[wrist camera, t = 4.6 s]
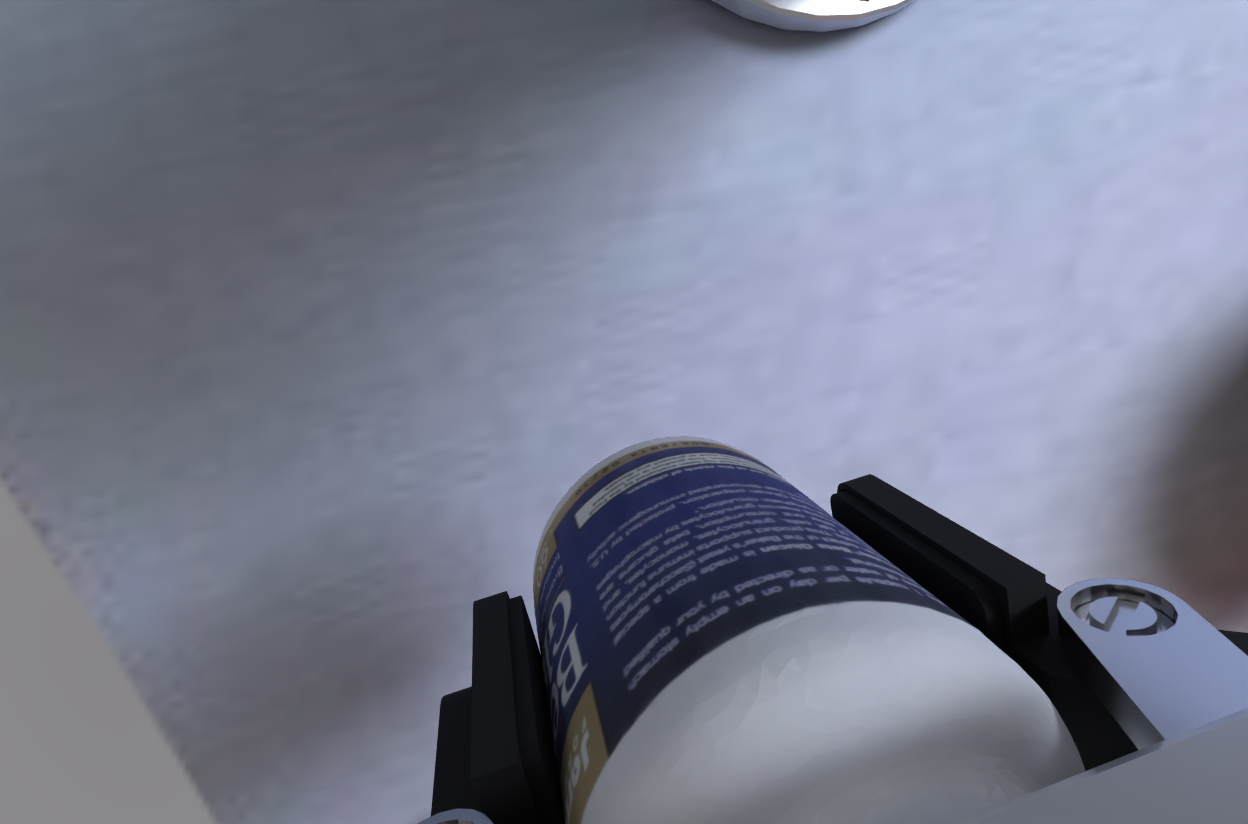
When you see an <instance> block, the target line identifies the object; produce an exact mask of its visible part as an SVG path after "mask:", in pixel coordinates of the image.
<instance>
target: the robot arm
mask: <svg viewBox="0 0 1248 824" xmlns="http://www.w3.org/2000/svg"><path fill="white" fill-rule="evenodd" d="M712 1H714V2H715V3H717V4H719V5H721V6H723V7H725V8H726V9H728V10H730V11H732V12H734V13H736V14H738V15H739V16H741V17H743V18H747V19H750V20H753V21H757V22H760V23H763V24H767V25H770V26H773V27H777V28H780V29H785V30H800V31H814V32H827V31H833V30H839V29H846V28H852V27H859V26H863V25H865V24H868V23H870V22H873V21H875V20H878V19H880V18H883V17H885V16H888V15H890V14H893V13H895V12H897V11H899V10H900V9H902V8H903V7H905V6H906V5H908V4H910V3H911V2H913V1H914V0H712ZM830 502H831V509H832V515H833V518H834V519H836V520H837V521H838V522H840V523H841V524H842V525H844V526H845V527H846V528H847V529H849V530H850V531H851V532H853V533H854V534H855V535H856V536H858V537H859V538H860V539H861V540H863V541H864V542H865V543H866V544H868V545H869V546H870V547H872V548H873V549H874V550H875V551H877V552H878V553H879V554H881V555H882V556H883V557H884V558H886V559H887V560H888V561H890V562H891V563H892V564H893V565H895V566H896V567H897V568H899V569H900V570H901V571H902V572H904V573H905V574H906V575H908V576H909V577H910V578H911V579H913V580H914V581H915V582H917V583H918V584H919V585H920V586H922V587H923V588H924V589H926V590H927V591H928V592H929V593H931V594H932V595H933V596H935V597H936V598H937V599H939V600H940V601H941V602H942V603H944V604H945V605H946V606H948V607H949V608H950V609H951V610H953V611H954V612H955V613H957V614H958V615H959V616H961V617H962V618H963V619H965V620H966V621H967V622H969V623H970V624H971V625H973V626H974V627H976V628H977V629H979V630H980V631H981V632H982V633H983V634H984V635H985V636H986V637H987V638H988V639H989V640H990V641H991V642H992V643H994V644H995V645H996V646H997V647H998V648H999V649H1000V650H1002V651H1003V652H1004V653H1005V654H1006V655H1008V656H1009V657H1010V658H1011V659H1012V660H1014V661H1015V662H1016V663H1017V664H1018V665H1019V666H1020V667H1021V668H1022V669H1023V670H1024V671H1025V672H1026V673H1027V674H1028V675H1029V676H1030V677H1031V678H1032V679H1033V680H1034V681H1035V682H1036V683H1037V684H1038V685H1039V687H1040V688H1041V689H1042V690H1043V691H1044V693H1045V694H1046V695H1047V696H1048V698H1049V699H1050V701H1051V702H1052V704H1053V705H1054V707H1055V708H1056V710H1057V711H1058V713H1059V715H1060V717H1061V718H1062V720H1063V722H1064V724H1065V725H1066V727H1067V729H1068V731H1069V732H1070V734H1071V736H1072V738H1073V741H1074V743H1075V745H1076V747H1077V749H1078V751H1079V754H1080V757H1081V760H1082V762H1083V765H1084V769H1085V772H1082V773H1080V774H1077V775H1075V776H1072V777H1070V778H1067V779H1065V780H1062V781H1060V782H1057V783H1055V784H1052V785H1050V786H1047V787H1045V788H1042V789H1040V790H1037V791H1035V792H1032V793H1030V794H1027V795H1025V796H1022V797H1020V798H1017V799H1015V800H1012V801H1010V802H1007V803H1005V804H1002V805H1000V806H998V807H995V808H993V809H990V810H988V811H985V812H983V813H980V814H978V815H975V816H973V817H970V818H968V819H965V820H963V821H960V822H958V823H955V824H1248V633H1242V632H1233V631H1224V630H1217V629H1216V628H1215V627H1213V626H1212V625H1211V624H1210V623H1209V622H1208V621H1206V620H1205V619H1204V618H1203V617H1202V616H1201V615H1199V614H1198V613H1197V612H1196V611H1195V610H1194V609H1192V608H1191V607H1190V606H1189V605H1188V604H1187V603H1186V602H1184V601H1183V600H1182V599H1180V598H1178V597H1177V596H1175V595H1174V594H1172V593H1171V592H1169V591H1167V590H1164V589H1162V588H1159V587H1157V586H1154V585H1152V584H1147V583H1143V582H1139V581H1134V580H1128V579H1117V578H1102V579H1090V580H1086V581H1082V582H1077V583H1075V584H1073V585H1071V586H1069V587H1067V588H1065V589H1064V590H1063V591H1062V592H1061V591H1060V590H1058V589H1056V588H1055V587H1053V586H1051V585H1049V584H1048V583H1046V580H1045V574H1043V573H1041V572H1040V571H1038V570H1036V569H1034V568H1033V567H1031V566H1029V565H1028V564H1026V563H1024V562H1022V561H1021V560H1019V559H1017V558H1015V557H1014V556H1012V555H1010V554H1009V553H1007V552H1005V551H1003V550H1002V549H1000V548H998V547H996V546H995V545H993V544H991V543H990V542H988V541H986V540H984V539H983V538H981V537H979V536H977V535H976V534H974V533H972V532H970V531H969V530H967V529H965V528H964V527H962V526H960V525H958V524H957V523H955V522H953V521H951V520H950V519H948V518H946V517H945V516H943V515H941V514H939V513H938V512H936V511H934V510H932V509H931V508H929V507H927V506H926V505H924V504H922V503H920V502H919V501H917V500H915V499H913V498H912V497H910V496H908V495H906V494H905V493H903V492H901V491H900V490H898V489H896V488H894V487H893V486H891V485H889V484H887V483H886V482H884V481H882V480H881V479H879V478H877V477H875V476H874V475H871V474H869V475H866V476H863V477H860V478H857V479H853V480H850V481H847V482H844V483H841V484H839V486H838V489H837V493H836V494H833V495H832V496H831V500H830ZM418 824H565V822H564V815H563V807H562V800H561V792H560V785H559V778H558V772H557V764H556V757H555V753H554V746H553V736H552V729H551V722H550V715H549V709H548V704H547V696H546V687H545V683H544V674H543V667H542V660H541V654H540V651H539V648H538V645H537V642H536V639H535V636H534V632H533V629H532V626H531V623H530V620H529V617H528V614H527V611H526V607H525V604H524V601H523V599H522V596H518V597H515V598H511V599H510V598H509V595H508V593H507V591H505V592H502V593H499V594H496V595H492V596H489V597H486V598H483V599H480V600H477V601H474V604H473V656H472V687H469V688H466V689H463V690H460V691H457V692H454V693H451V694H448V695H445V696H444V697H443V698H442V700H441V705H440V716H439V728H438V740H437V751H436V763H435V775H434V787H433V798H432V810H431V817H429V818H427V819H425V820H423V821H421V822H420V823H418Z"/></svg>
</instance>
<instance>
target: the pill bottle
mask: <svg viewBox="0 0 1248 824" xmlns="http://www.w3.org/2000/svg"><path fill="white" fill-rule="evenodd" d="M533 592H534V608H535V617H536V624H537V633H538V639H539V645H540V652H541V660H542V667H543V674H544V683H545V687H546V696H547V704H548V709H549V715H550V722H551V729H552V736H553V746H554V753H555V757H556V764H557V772H558V778H559V785H560V792H561V800H562V807H563V815H564V822H565V824H955V823H958V822H960V821H963V820H965V819H968V818H970V817H973V816H975V815H978V814H980V813H983V812H985V811H988V810H990V809H993V808H995V807H998V806H1000V805H1002V804H1005V803H1007V802H1010V801H1012V800H1015V799H1017V798H1020V797H1022V796H1025V795H1027V794H1030V793H1032V792H1035V791H1037V790H1040V789H1042V788H1045V787H1047V786H1050V785H1052V784H1055V783H1057V782H1060V781H1062V780H1065V779H1067V778H1070V777H1072V776H1075V775H1077V774H1080V773H1082V772H1085V769H1084V765H1083V762H1082V760H1081V757H1080V754H1079V751H1078V749H1077V747H1076V745H1075V743H1074V741H1073V738H1072V736H1071V734H1070V732H1069V731H1068V729H1067V727H1066V725H1065V724H1064V722H1063V720H1062V718H1061V717H1060V715H1059V713H1058V711H1057V710H1056V708H1055V707H1054V705H1053V704H1052V702H1051V701H1050V699H1049V698H1048V696H1047V695H1046V694H1045V693H1044V691H1043V690H1042V689H1041V688H1040V687H1039V685H1038V684H1037V683H1036V682H1035V681H1034V680H1033V679H1032V678H1031V677H1030V676H1029V675H1028V674H1027V673H1026V672H1025V671H1024V670H1023V669H1022V668H1021V667H1020V666H1019V665H1018V664H1017V663H1016V662H1015V661H1014V660H1012V659H1011V658H1010V657H1009V656H1008V655H1006V654H1005V653H1004V652H1003V651H1002V650H1000V649H999V648H998V647H997V646H996V645H995V644H994V643H992V642H991V641H990V640H989V639H988V638H987V637H986V636H985V635H984V634H983V633H982V632H981V631H980V630H979V629H977V628H976V627H974V626H973V625H971V624H970V623H969V622H967V621H966V620H965V619H963V618H962V617H961V616H959V615H958V614H957V613H955V612H954V611H953V610H951V609H950V608H949V607H948V606H946V605H945V604H944V603H942V602H941V601H940V600H939V599H937V598H936V597H935V596H933V595H932V594H931V593H929V592H928V591H927V590H926V589H924V588H923V587H922V586H920V585H919V584H918V583H917V582H915V581H914V580H913V579H911V578H910V577H909V576H908V575H906V574H905V573H904V572H902V571H901V570H900V569H899V568H897V567H896V566H895V565H893V564H892V563H891V562H890V561H888V560H887V559H886V558H884V557H883V556H882V555H881V554H879V553H878V552H877V551H875V550H874V549H873V548H872V547H870V546H869V545H868V544H866V543H865V542H864V541H863V540H861V539H860V538H859V537H858V536H856V535H855V534H854V533H853V532H851V531H850V530H849V529H847V528H846V527H845V526H844V525H842V524H841V523H840V522H838V521H837V520H836V519H834V518H833V517H832V516H831V515H829V514H828V513H827V512H826V511H824V510H823V509H822V508H821V507H819V506H818V505H817V504H816V503H814V502H813V501H812V500H810V499H809V498H808V497H807V496H805V495H804V494H803V493H802V492H800V491H799V490H798V489H797V488H795V487H794V486H793V485H791V484H790V483H789V482H787V481H786V480H785V479H784V478H782V477H781V476H780V475H779V474H777V473H776V472H775V471H773V470H772V469H771V468H769V467H768V466H767V465H765V464H764V463H762V462H761V461H759V460H757V459H756V458H754V457H752V456H750V455H749V454H747V453H745V452H744V451H741V450H739V449H737V448H735V447H733V446H730V445H727V444H724V443H721V442H718V441H714V440H710V439H704V438H697V437H684V436H681V437H666V438H660V439H654V440H650V441H645V442H642V443H639V444H636V445H632V446H630V447H628V448H625V449H623V450H621V451H619V452H617V453H615V454H613V455H611V456H609V457H608V458H606V459H605V460H603V461H602V462H600V463H598V464H597V465H595V466H594V467H593V468H592V469H590V470H589V471H588V472H587V473H586V474H584V475H583V476H582V477H581V478H580V479H579V480H578V481H577V482H576V483H575V484H574V485H573V486H572V487H571V488H570V489H569V490H568V492H567V493H566V494H565V495H564V497H563V498H562V499H561V501H560V502H559V503H558V505H557V506H556V508H555V509H554V511H553V512H552V514H551V516H550V518H549V520H548V522H547V524H546V526H545V528H544V531H543V533H542V536H541V538H540V542H539V545H538V548H537V552H536V558H535V564H534V573H533Z"/></svg>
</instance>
